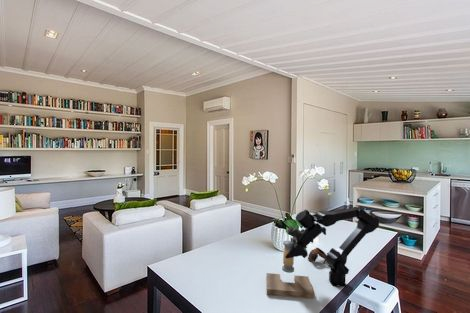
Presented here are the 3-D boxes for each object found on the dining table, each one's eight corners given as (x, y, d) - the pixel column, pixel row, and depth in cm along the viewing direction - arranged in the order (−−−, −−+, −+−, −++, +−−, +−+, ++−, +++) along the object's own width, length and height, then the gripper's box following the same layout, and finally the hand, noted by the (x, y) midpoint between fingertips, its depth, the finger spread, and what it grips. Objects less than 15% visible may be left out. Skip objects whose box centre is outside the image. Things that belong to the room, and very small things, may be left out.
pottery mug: (309, 256, 149) (316, 245, 148) (322, 268, 144) (330, 256, 143) (302, 258, 140) (310, 246, 139) (316, 270, 134) (325, 258, 133)
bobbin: (293, 267, 120) (294, 240, 120) (294, 273, 114) (295, 245, 114) (281, 266, 121) (282, 240, 120) (282, 272, 115) (283, 244, 115)
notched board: (308, 281, 120) (308, 276, 120) (313, 298, 106) (313, 293, 106) (266, 278, 122) (266, 273, 122) (266, 294, 108) (266, 289, 108)
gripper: (295, 215, 126) (273, 235, 127) (300, 227, 107) (274, 250, 109) (311, 232, 125) (288, 252, 127) (318, 246, 106) (292, 269, 108)
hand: (285, 255), depth 117 cm, fingers closed on bobbin, 5 cm apart
